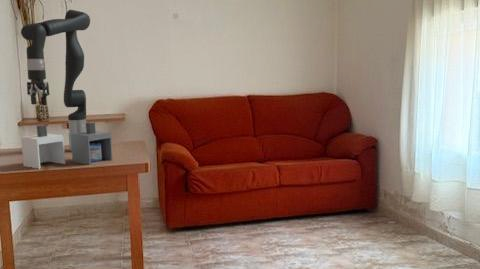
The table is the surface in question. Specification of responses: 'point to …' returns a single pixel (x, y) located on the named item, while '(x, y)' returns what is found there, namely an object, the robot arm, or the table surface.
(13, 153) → the table surface
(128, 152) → the table surface
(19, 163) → the table surface
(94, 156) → the medicine box
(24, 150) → the grey hood
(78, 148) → the box
